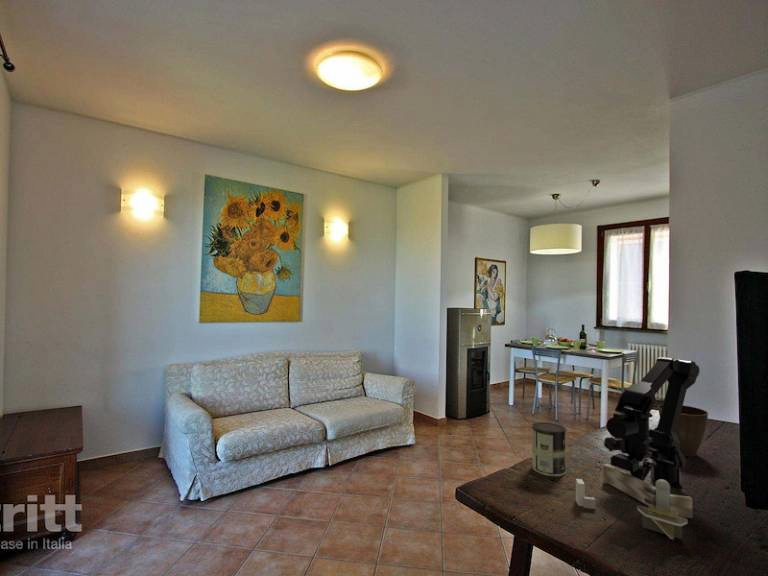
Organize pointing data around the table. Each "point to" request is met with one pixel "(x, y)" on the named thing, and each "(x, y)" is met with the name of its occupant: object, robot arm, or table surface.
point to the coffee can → (549, 449)
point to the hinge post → (662, 495)
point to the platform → (662, 521)
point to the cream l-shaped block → (583, 496)
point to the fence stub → (681, 505)
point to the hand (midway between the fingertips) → (637, 486)
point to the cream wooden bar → (629, 484)
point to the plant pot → (690, 429)
